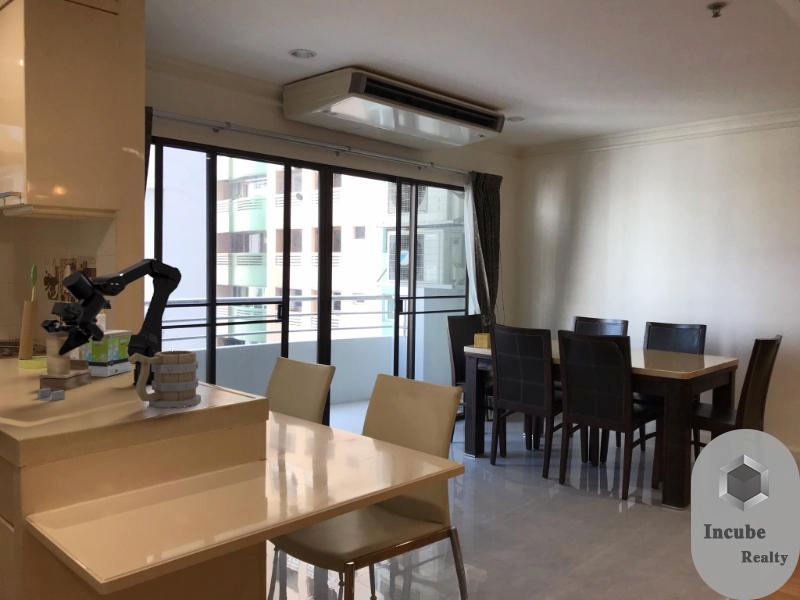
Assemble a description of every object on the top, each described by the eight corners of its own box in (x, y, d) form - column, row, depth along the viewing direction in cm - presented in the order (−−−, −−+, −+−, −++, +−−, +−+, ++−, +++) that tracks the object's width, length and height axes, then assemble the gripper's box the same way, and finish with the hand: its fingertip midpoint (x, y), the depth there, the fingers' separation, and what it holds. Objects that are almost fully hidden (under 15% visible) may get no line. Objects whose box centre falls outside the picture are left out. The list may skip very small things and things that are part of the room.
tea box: (108, 377, 218) (108, 333, 217) (81, 376, 219) (80, 332, 219) (133, 370, 233) (133, 329, 232) (107, 369, 234) (107, 328, 234)
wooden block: (60, 373, 180) (59, 331, 179) (70, 374, 178) (69, 332, 178) (47, 375, 176) (46, 333, 176) (57, 376, 175) (56, 333, 174)
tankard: (183, 396, 187) (182, 345, 186) (208, 403, 179) (208, 349, 178) (115, 407, 171) (115, 351, 171) (140, 415, 163) (140, 355, 163)
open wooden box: (67, 385, 202) (66, 371, 202) (91, 386, 202) (91, 372, 201) (39, 393, 189) (39, 378, 189) (65, 393, 189) (65, 379, 188)
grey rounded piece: (53, 398, 182) (53, 387, 182) (70, 401, 179) (70, 389, 179) (31, 402, 176) (31, 390, 176) (48, 405, 173) (48, 393, 173)
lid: (66, 370, 202) (66, 358, 202) (91, 371, 201) (91, 359, 201) (39, 377, 189) (39, 364, 189) (65, 378, 188) (65, 365, 188)
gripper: (46, 290, 183) (10, 333, 174) (94, 292, 176) (60, 337, 167) (70, 316, 191) (37, 358, 181) (118, 319, 184) (86, 363, 174)
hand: (54, 354), depth 176 cm, fingers closed on wooden block, 4 cm apart
